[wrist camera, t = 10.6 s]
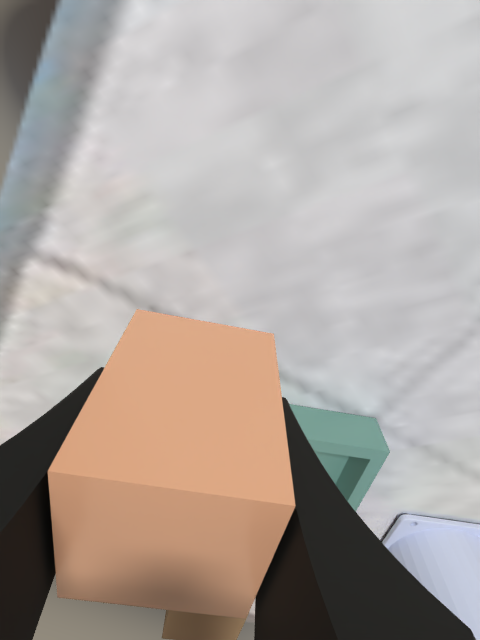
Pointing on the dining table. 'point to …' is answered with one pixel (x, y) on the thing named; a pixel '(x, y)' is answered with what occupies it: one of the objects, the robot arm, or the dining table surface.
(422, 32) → the dining table surface
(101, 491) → the terracotta block
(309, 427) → the tray
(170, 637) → the walnut block
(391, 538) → the robot arm
